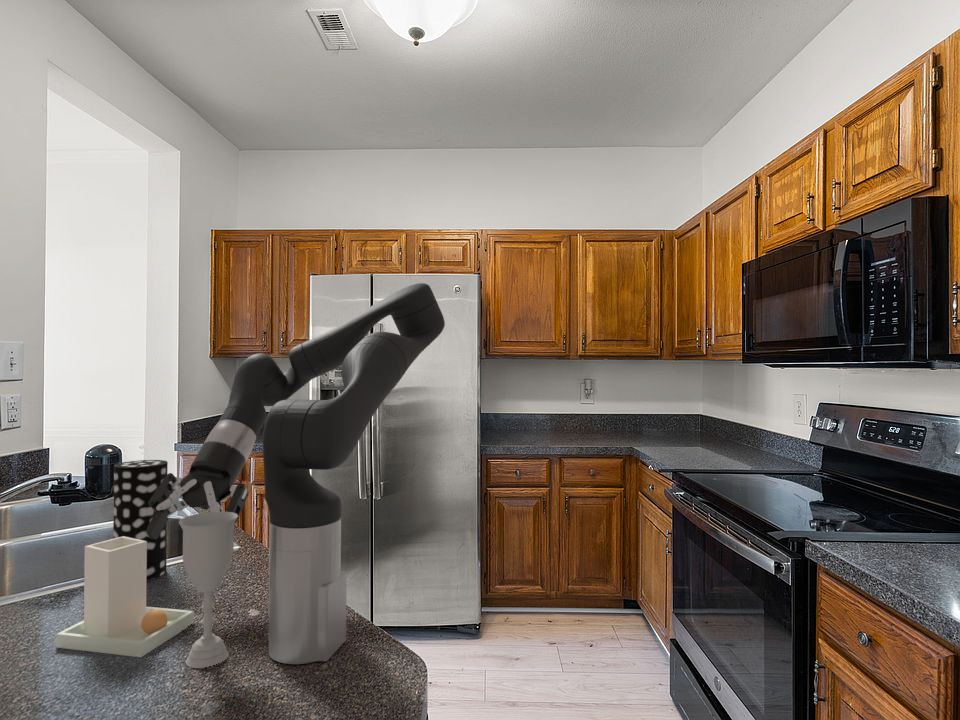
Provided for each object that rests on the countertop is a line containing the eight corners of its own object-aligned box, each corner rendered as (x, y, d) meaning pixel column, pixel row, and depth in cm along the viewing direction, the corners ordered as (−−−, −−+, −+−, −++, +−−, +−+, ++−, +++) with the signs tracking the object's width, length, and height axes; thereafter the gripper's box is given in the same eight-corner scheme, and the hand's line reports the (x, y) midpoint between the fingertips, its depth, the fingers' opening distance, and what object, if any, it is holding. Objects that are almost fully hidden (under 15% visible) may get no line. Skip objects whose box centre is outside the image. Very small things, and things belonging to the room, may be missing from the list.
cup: (145, 625, 84) (146, 541, 84) (107, 641, 79) (108, 551, 79) (122, 618, 86) (123, 536, 86) (83, 633, 81) (84, 546, 81)
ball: (174, 627, 82) (171, 605, 83) (157, 638, 79) (154, 614, 79) (154, 628, 83) (151, 606, 83) (136, 639, 80) (134, 615, 80)
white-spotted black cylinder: (132, 566, 110) (133, 459, 110) (175, 567, 109) (176, 460, 109) (101, 583, 101) (103, 467, 101) (148, 584, 101) (150, 467, 101)
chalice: (212, 675, 71) (214, 527, 72) (163, 669, 73) (165, 524, 73) (247, 647, 79) (249, 513, 79) (202, 642, 80) (204, 510, 80)
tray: (193, 623, 86) (193, 611, 86) (140, 657, 76) (140, 643, 76) (117, 615, 88) (117, 603, 88) (56, 647, 78) (56, 633, 78)
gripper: (270, 470, 102) (228, 558, 91) (195, 459, 104) (144, 545, 93) (257, 445, 97) (210, 536, 86) (178, 434, 98) (122, 522, 88)
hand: (176, 541), depth 90 cm, fingers open, 8 cm apart
